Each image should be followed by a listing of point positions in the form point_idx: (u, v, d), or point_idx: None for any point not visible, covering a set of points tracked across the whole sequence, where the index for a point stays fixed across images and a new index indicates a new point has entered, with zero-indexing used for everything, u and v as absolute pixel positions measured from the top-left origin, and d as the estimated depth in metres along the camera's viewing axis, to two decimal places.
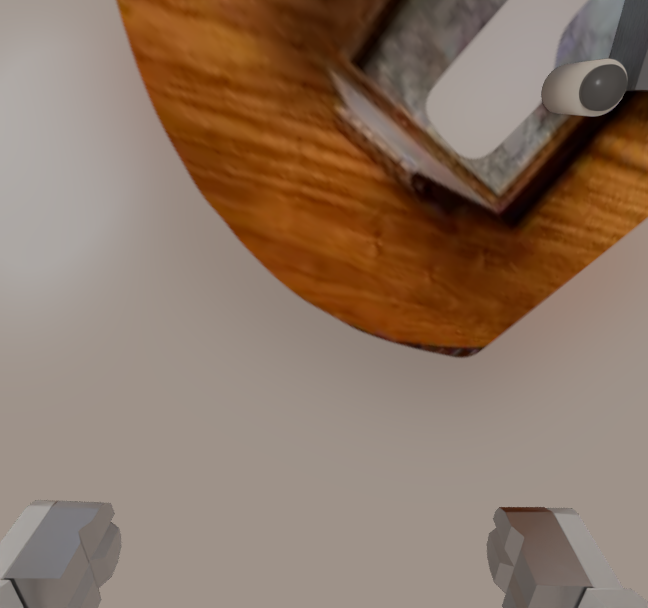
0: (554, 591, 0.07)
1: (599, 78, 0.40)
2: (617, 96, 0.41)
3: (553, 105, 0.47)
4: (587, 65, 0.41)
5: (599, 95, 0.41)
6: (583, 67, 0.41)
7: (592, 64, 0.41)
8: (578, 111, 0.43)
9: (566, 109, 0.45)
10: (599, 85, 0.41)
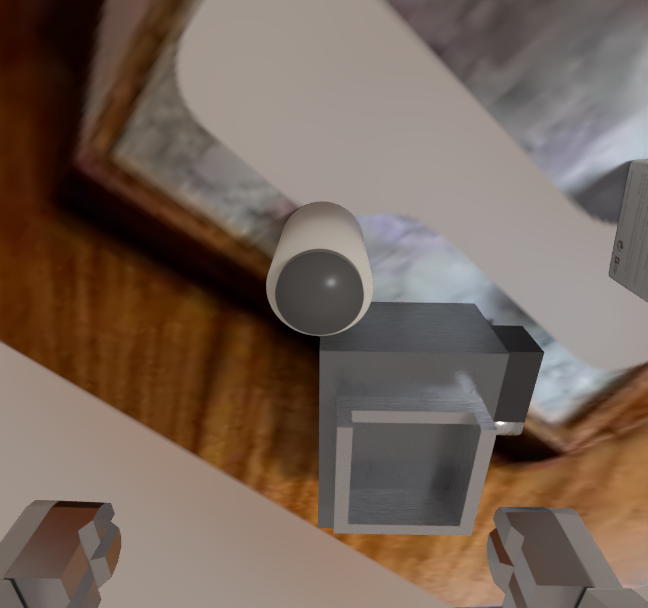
0: (554, 591, 0.07)
1: (337, 280, 0.19)
2: (304, 323, 0.20)
3: (291, 221, 0.24)
4: (361, 254, 0.20)
5: (305, 289, 0.19)
6: (358, 249, 0.20)
7: (363, 262, 0.19)
8: (274, 259, 0.20)
9: (281, 241, 0.22)
10: (324, 284, 0.19)
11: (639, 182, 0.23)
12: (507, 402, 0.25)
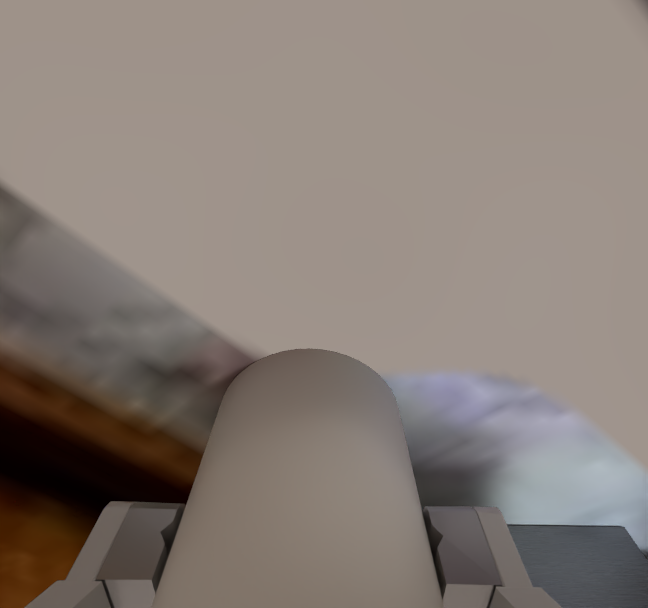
0: (465, 590, 0.07)
1: None
2: None
3: (228, 427, 0.09)
4: None
5: None
6: None
7: None
8: None
9: (181, 542, 0.07)
10: None
11: None
12: None
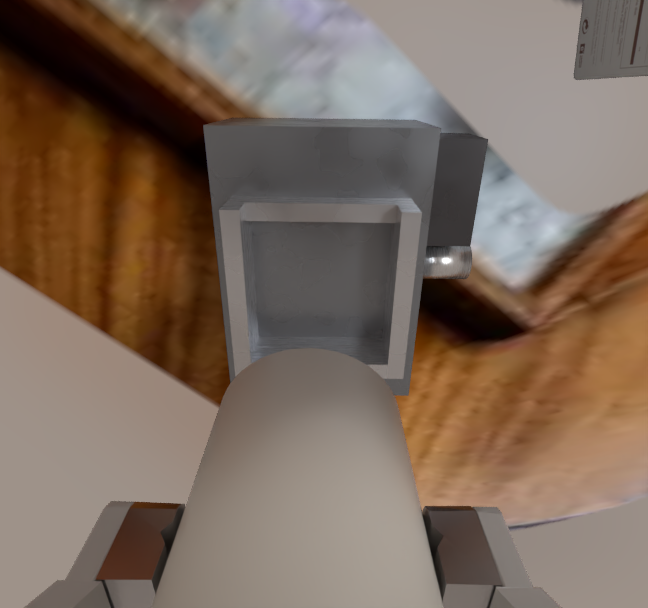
0: (465, 590, 0.07)
1: None
2: None
3: (228, 426, 0.09)
4: None
5: None
6: None
7: None
8: None
9: (181, 540, 0.07)
10: None
11: None
12: (447, 216, 0.21)
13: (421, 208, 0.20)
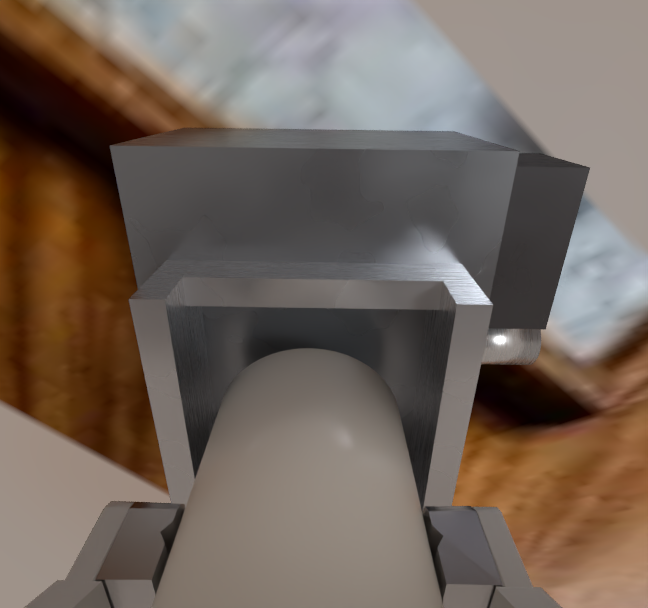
0: (465, 590, 0.07)
1: None
2: None
3: (228, 426, 0.09)
4: None
5: None
6: None
7: None
8: None
9: (182, 540, 0.07)
10: None
11: None
12: (513, 286, 0.13)
13: (477, 279, 0.12)
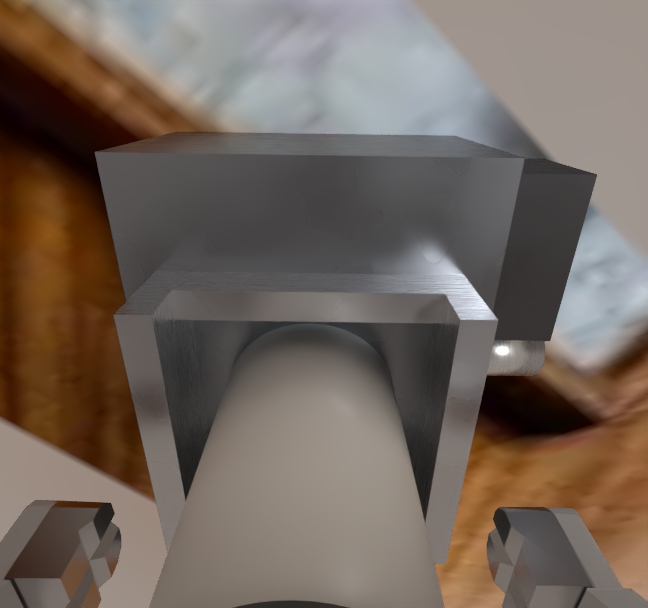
0: (554, 591, 0.07)
1: None
2: None
3: (238, 389, 0.10)
4: (423, 588, 0.06)
5: None
6: (410, 560, 0.07)
7: None
8: (155, 601, 0.06)
9: (200, 479, 0.08)
10: None
11: None
12: (517, 296, 0.13)
13: (480, 290, 0.11)
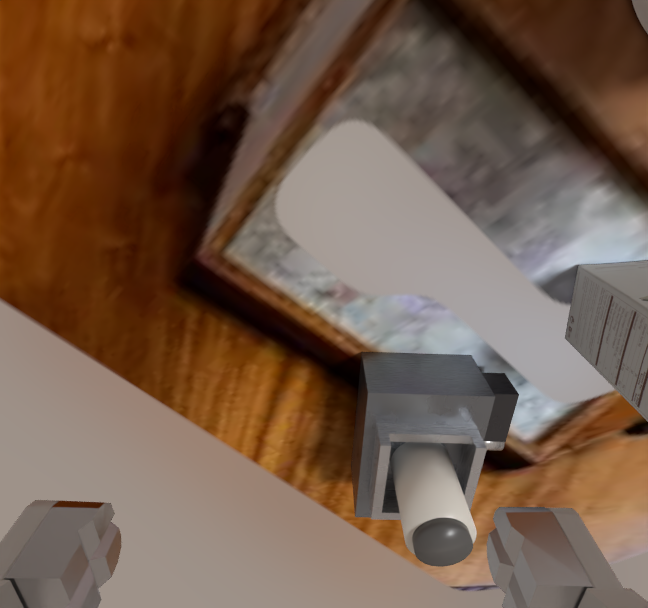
0: (554, 591, 0.07)
1: (457, 540, 0.29)
2: (430, 560, 0.30)
3: (408, 464, 0.34)
4: (470, 516, 0.30)
5: (435, 544, 0.29)
6: (466, 511, 0.30)
7: (472, 524, 0.30)
8: (412, 519, 0.30)
9: (408, 492, 0.32)
10: (448, 542, 0.29)
11: (583, 281, 0.35)
12: (493, 428, 0.36)
13: (481, 430, 0.35)
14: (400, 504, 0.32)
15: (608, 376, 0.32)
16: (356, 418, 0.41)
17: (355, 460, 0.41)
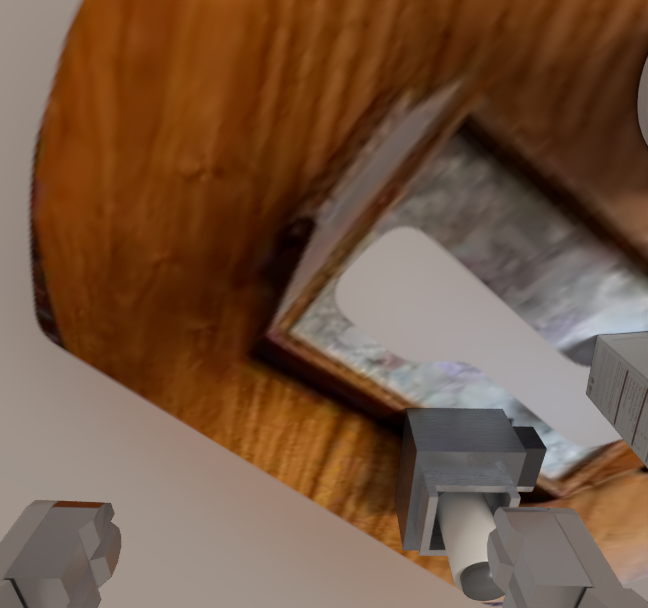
0: (554, 591, 0.07)
1: None
2: (476, 596, 0.36)
3: (452, 511, 0.39)
4: None
5: (480, 583, 0.35)
6: None
7: None
8: (460, 562, 0.36)
9: (455, 537, 0.37)
10: (491, 581, 0.35)
11: (602, 350, 0.40)
12: (524, 475, 0.42)
13: (514, 479, 0.41)
14: (447, 546, 0.38)
15: (625, 436, 0.37)
16: (401, 463, 0.47)
17: (401, 499, 0.47)
